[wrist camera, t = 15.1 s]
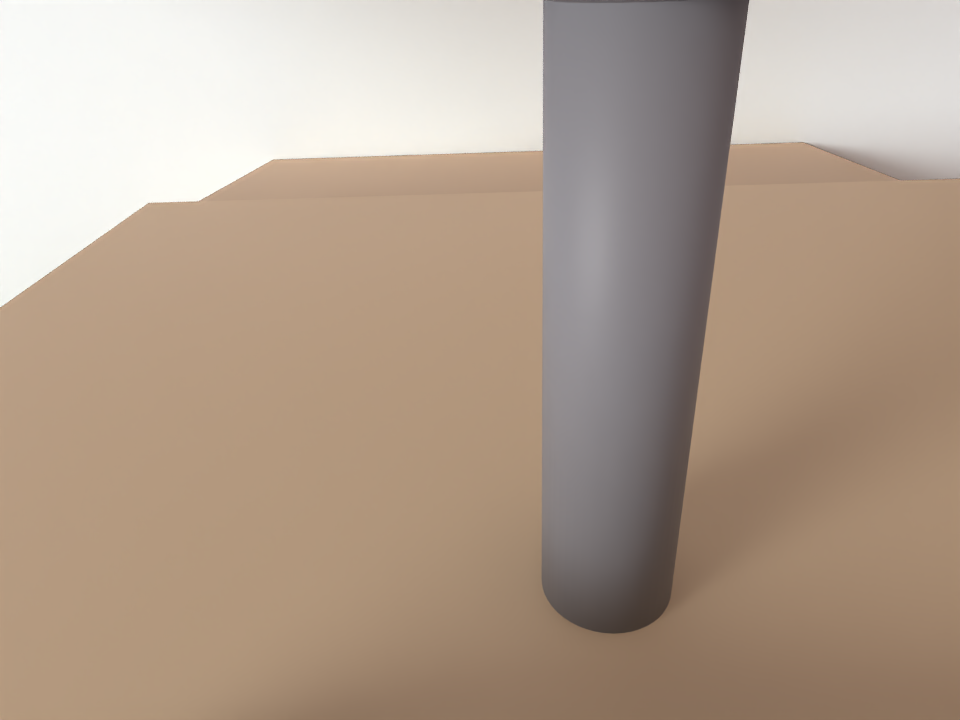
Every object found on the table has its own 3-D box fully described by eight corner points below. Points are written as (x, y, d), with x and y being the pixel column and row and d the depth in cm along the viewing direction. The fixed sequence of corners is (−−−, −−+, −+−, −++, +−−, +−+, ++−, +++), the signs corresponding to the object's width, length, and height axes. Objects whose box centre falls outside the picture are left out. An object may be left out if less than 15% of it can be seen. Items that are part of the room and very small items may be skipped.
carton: (272, 159, 27) (156, 224, 18) (802, 142, 26) (955, 202, 17) (326, 501, 34) (260, 672, 25) (750, 497, 33) (841, 674, 24)
